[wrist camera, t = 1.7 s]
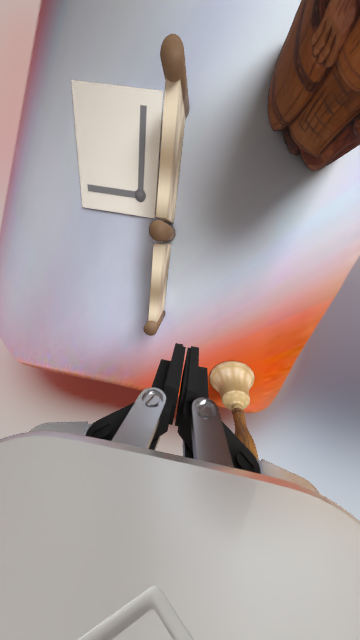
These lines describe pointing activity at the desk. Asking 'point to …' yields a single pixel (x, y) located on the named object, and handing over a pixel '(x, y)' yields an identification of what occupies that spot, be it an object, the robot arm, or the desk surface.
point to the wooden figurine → (319, 82)
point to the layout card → (118, 146)
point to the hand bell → (235, 395)
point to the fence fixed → (171, 135)
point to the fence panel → (158, 286)
